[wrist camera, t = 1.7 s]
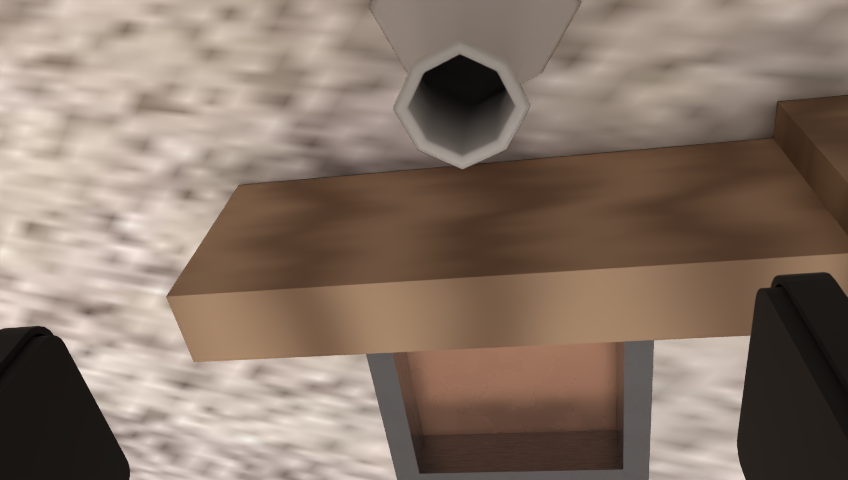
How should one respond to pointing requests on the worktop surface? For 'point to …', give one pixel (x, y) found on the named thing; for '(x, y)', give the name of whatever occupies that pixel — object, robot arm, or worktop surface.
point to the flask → (469, 68)
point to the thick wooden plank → (522, 248)
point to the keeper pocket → (518, 411)
